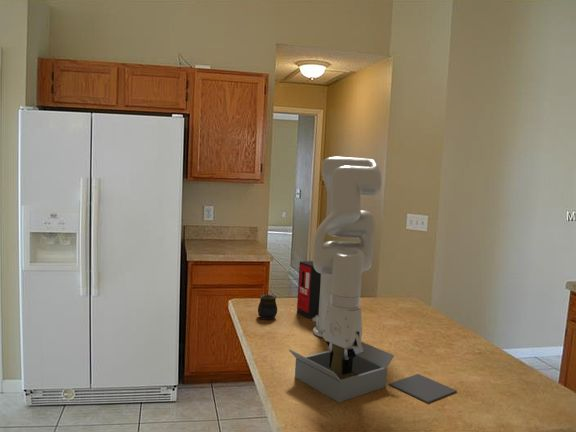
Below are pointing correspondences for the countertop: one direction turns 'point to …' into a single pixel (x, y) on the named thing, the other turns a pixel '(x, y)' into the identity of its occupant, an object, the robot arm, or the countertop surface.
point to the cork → (338, 362)
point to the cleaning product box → (308, 290)
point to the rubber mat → (423, 388)
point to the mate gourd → (267, 307)
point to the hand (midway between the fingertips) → (340, 369)
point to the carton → (368, 378)
